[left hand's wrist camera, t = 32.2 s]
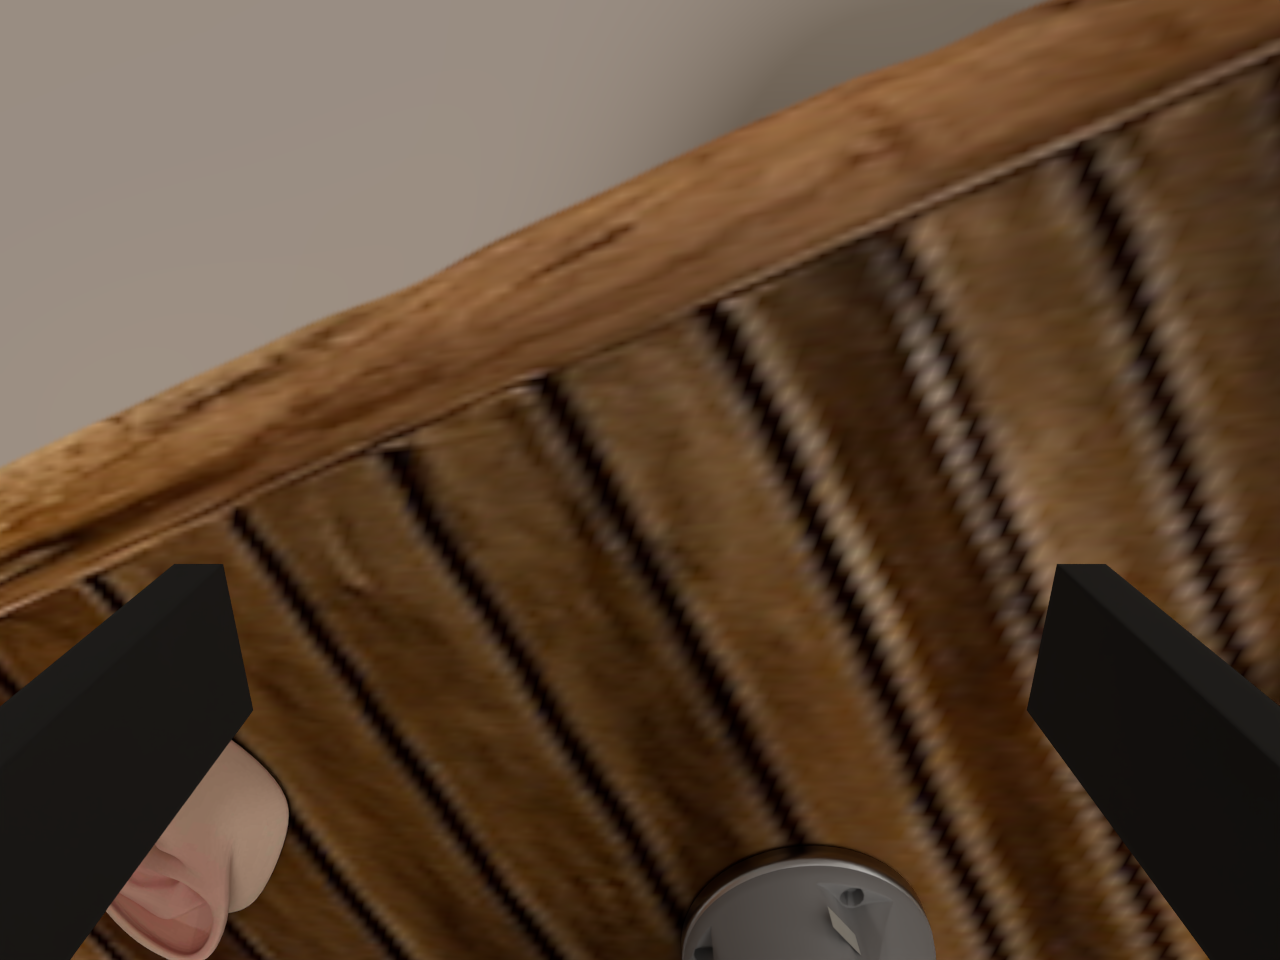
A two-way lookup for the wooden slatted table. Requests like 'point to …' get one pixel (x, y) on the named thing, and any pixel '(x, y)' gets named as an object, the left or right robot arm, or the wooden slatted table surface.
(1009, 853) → the wooden slatted table surface
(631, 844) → the wooden slatted table surface
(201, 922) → the anatomical model
